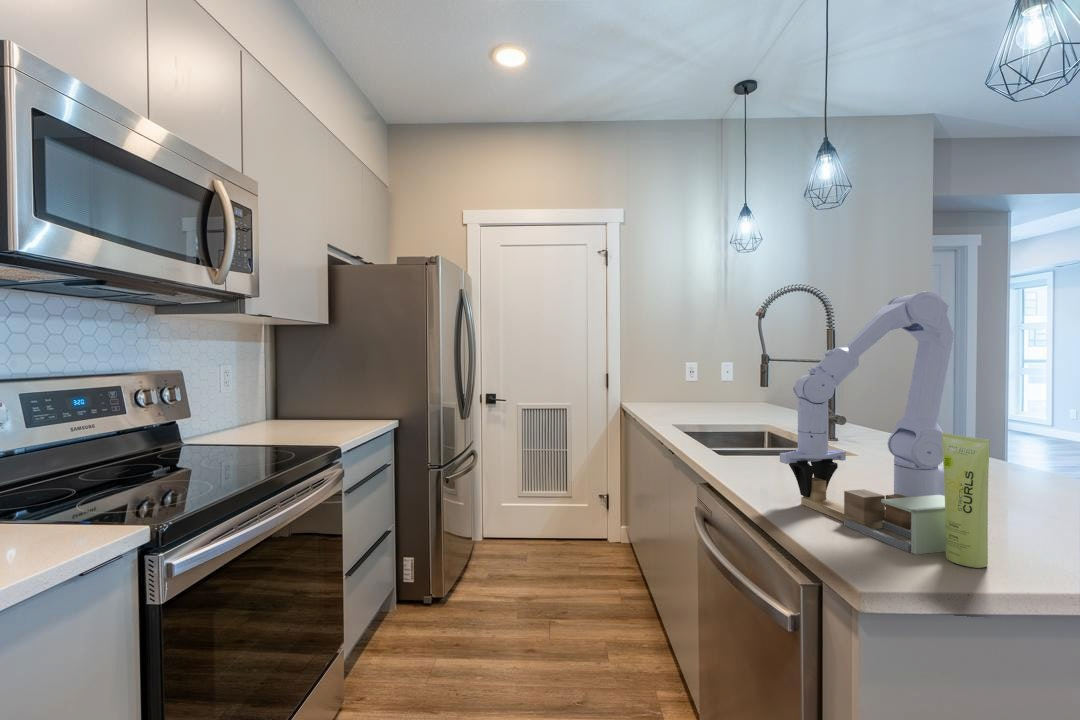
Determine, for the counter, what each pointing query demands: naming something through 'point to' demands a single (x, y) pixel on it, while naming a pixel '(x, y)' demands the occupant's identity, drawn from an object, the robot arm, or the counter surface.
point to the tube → (966, 499)
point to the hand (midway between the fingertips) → (812, 495)
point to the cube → (864, 505)
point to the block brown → (897, 514)
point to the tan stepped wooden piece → (830, 504)
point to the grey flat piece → (883, 536)
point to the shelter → (924, 521)
